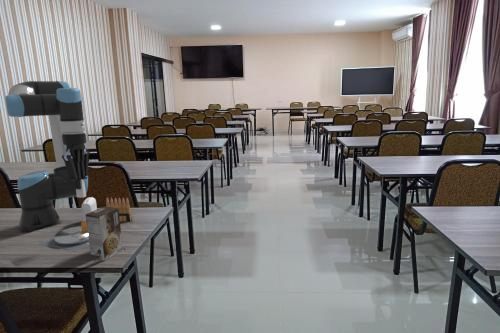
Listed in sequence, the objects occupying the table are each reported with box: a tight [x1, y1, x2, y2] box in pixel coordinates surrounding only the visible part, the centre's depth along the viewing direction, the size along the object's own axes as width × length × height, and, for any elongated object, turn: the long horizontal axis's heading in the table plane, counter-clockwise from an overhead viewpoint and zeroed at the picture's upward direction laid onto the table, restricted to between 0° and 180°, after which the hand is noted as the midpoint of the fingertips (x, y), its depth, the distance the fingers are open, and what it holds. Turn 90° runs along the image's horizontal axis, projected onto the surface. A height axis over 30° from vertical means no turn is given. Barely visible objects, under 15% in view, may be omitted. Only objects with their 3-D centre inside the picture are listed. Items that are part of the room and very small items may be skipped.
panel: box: [38, 237, 90, 252], centre depth 131 cm, size 18×17×2 cm
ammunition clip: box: [106, 197, 133, 224], centre depth 148 cm, size 11×2×12 cm, turn 85°
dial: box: [53, 220, 89, 246], centre depth 130 cm, size 14×14×6 cm
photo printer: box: [80, 196, 98, 221], centre depth 146 cm, size 10×4×12 cm, turn 11°
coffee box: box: [86, 205, 124, 262], centre depth 119 cm, size 9×6×16 cm
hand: (81, 196), depth 126 cm, fingers closed
